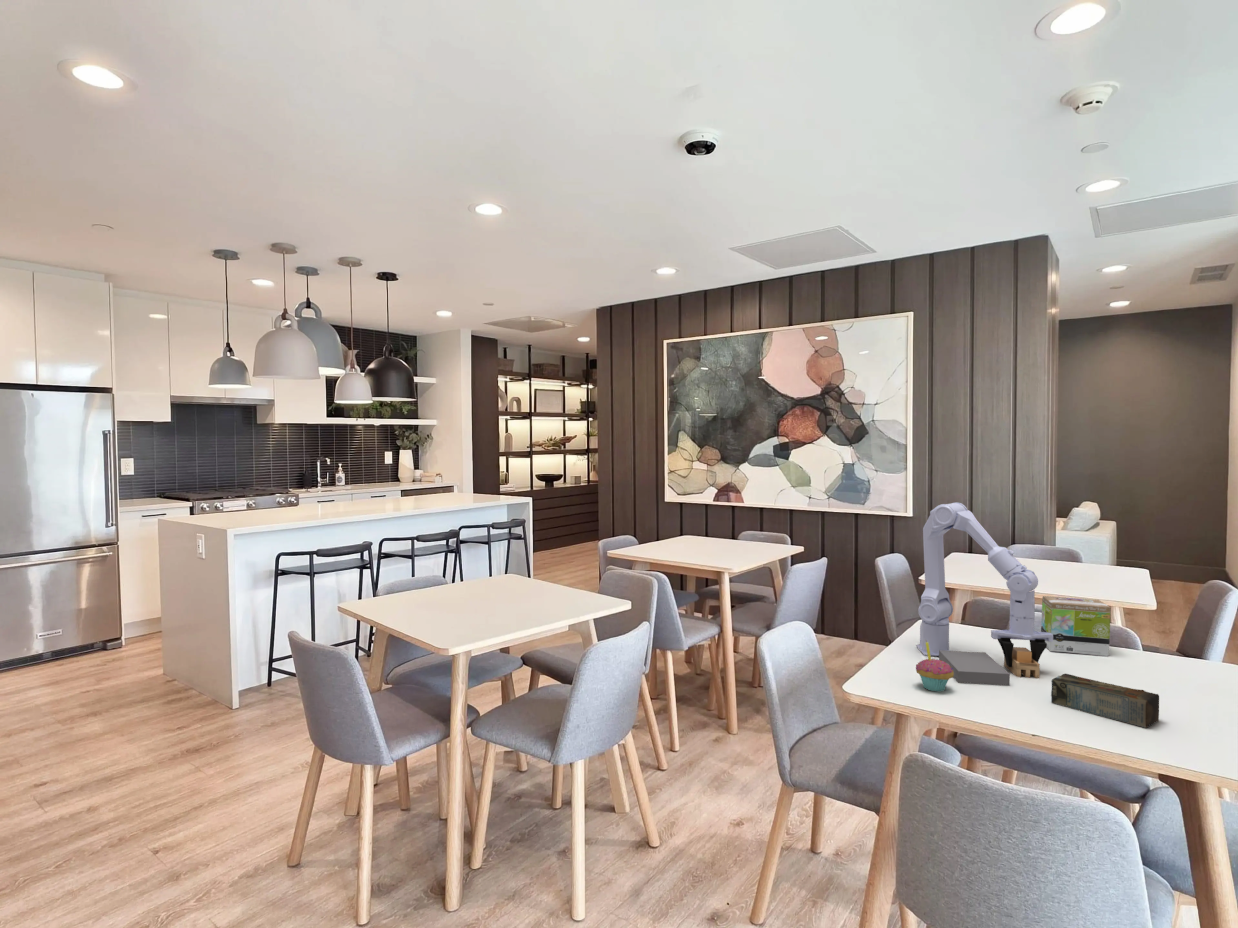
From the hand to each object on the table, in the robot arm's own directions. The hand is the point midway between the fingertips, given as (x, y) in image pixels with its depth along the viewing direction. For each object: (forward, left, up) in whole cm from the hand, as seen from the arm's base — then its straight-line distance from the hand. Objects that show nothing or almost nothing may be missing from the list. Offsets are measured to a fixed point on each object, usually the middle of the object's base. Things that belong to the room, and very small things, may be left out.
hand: (1021, 666), depth 184 cm
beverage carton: (+26, +8, -2) cm, 27 cm away
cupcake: (+17, -26, -2) cm, 31 cm away
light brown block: (0, 0, +2) cm, 2 cm away
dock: (+3, -13, -1) cm, 13 cm away
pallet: (0, 0, -1) cm, 1 cm away
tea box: (-24, +23, -2) cm, 33 cm away
